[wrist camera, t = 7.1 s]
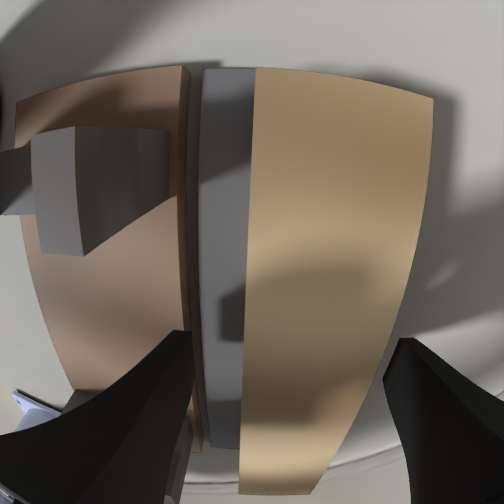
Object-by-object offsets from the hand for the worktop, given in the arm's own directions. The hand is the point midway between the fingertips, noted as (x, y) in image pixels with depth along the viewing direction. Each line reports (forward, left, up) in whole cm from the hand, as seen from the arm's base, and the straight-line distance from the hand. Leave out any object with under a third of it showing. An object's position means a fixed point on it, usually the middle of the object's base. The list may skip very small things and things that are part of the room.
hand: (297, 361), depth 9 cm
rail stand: (0, +7, -2) cm, 8 cm away
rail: (0, 0, -1) cm, 1 cm away
